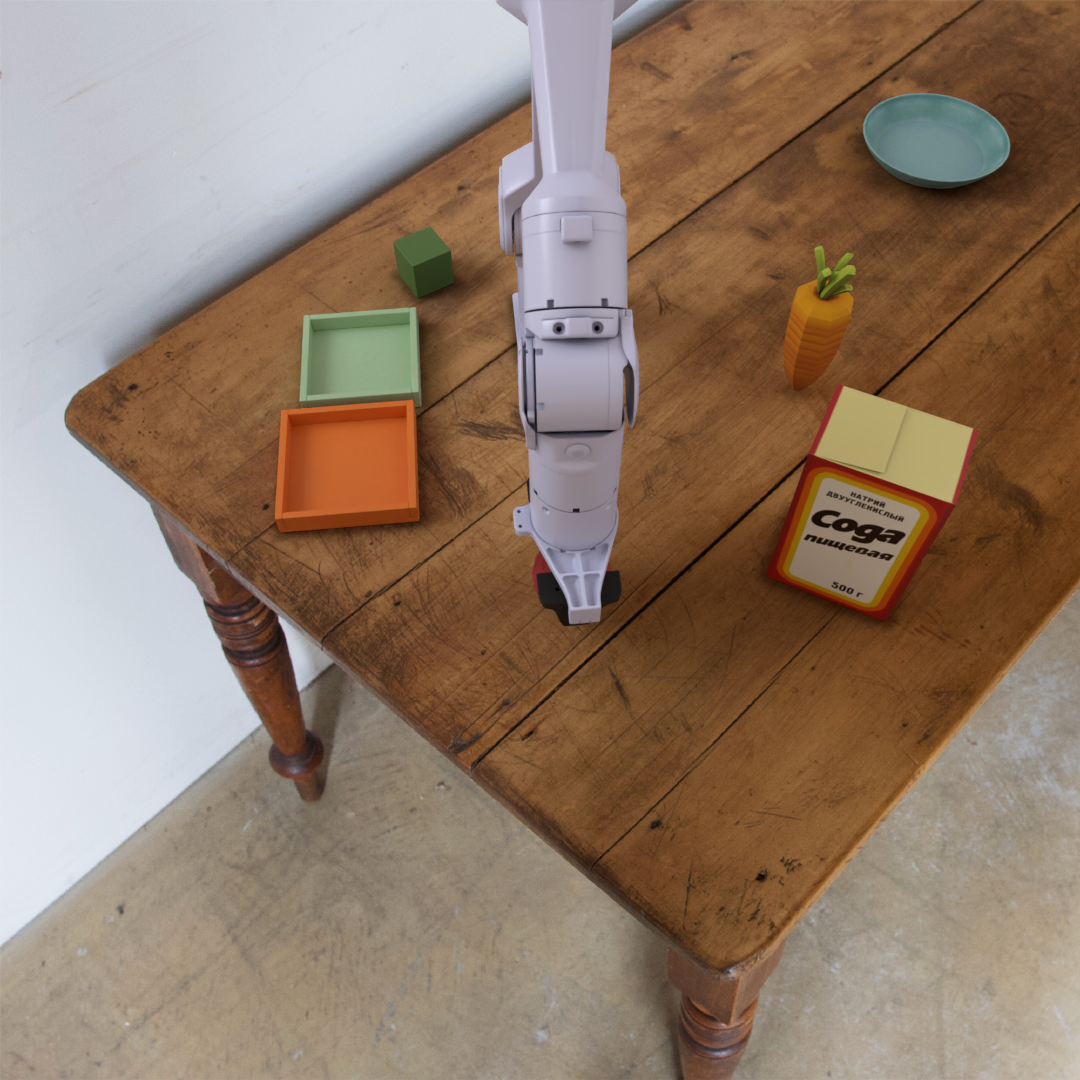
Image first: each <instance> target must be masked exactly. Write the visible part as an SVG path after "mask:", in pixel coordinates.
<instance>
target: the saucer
mask: <svg viewBox="0 0 1080 1080" xmlns="http://www.w3.org/2000/svg"><path fill="white" fill-rule="evenodd" d="M862 134H863V138H864V141H865V144H866V146H867V148H868V150H869V152H870V154H871V155H872V157H873V159H875V161H876V162H877V163H878V164H879V166H880V167H882V168H883V169H884V170H885V171H886V172H887V173H889V174H890V175H891V176H893V177H895V178H896V179H898V180H900V181H902V182H904V183H907V184H909V185H913V186H916V187H921V188H926V189H935V190H944V189H946V190H947V189H953V188H958V187H959V188H960V187H963V186H966V185H970V184H973V183H975V182H978V181H980V180H982V179H985V178H986V177H988V176H989V175H991V174H992V173H994V172H995V171H997V170H998V169H1000V168H1001V167H1002V166H1003V165H1004V164H1005V162H1006V161H1007V160H1008V158H1009V155H1010V153H1011V140H1010V137H1009V135H1008V132H1007V130H1006V128H1005V127H1004V126H1003V125H1002V123H1001V122H1000V121H999V120H998V119H997V118H996V117H995V116H993V115H992V114H991V113H990V112H988V111H987V110H985V109H984V108H981V107H979V105H976V104H974V103H971V102H970V101H967V100H964V99H962V98H959V97H954V96H951V95H945V94H941V93H939V94H938V93H933V92H932V93H929V92H915V93H914V92H913V93H912V92H911V93H903V94H900V95H895V96H892V97H889V98H886V99H884V100H882V101H881V102H878V103H877V104H876V105H875V106H873V107H872V108H871V109H870V111H869V112H868V113H867V114H866V115H865V118H864V119H863V124H862Z"/></svg>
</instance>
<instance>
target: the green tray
mask: <svg viewBox="0 0 1080 1080" xmlns="http://www.w3.org/2000/svg"><path fill="white" fill-rule="evenodd" d="M417 310H418V309H417V307H416V306H412V307H398V308H386V309H373V310H358V311H343V312H332V313H331V312H329V313H319V314H305V315H303V322H302V323H303V325H302V342H301V362H300V363H301V364H300V383H299V404H300V406H301V408H314V407H326V406H339V405H352V404H365V403H378V402H390V401H403V400H406V401H407V400H413V401H414V406H415V408H421V407H422V383H421V382H422V380H421V356H420V355H421V352H420V350H421V349H420V329H419V328H420V327H419V326H420V325H419V324H420V323H419V316H418V311H417Z"/></svg>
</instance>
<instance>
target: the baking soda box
mask: <svg viewBox="0 0 1080 1080" xmlns="http://www.w3.org/2000/svg"><path fill="white" fill-rule="evenodd" d="M979 432H980V429H976V428H973V427H971V426H967V425H964V424H961V423H959V422H955V421H952V420H949V419H946V418H943V417H939V416H937V415H934V414H930V413H927V412H926V411H925V412H924V411H921V410H919V409H915V408H913V407H909V406H907V405H904V404H901V403H898V402H895V401H892V400H889V399H885V398H883V397H879V396H876V395H873V394H870V393H867V392H864V391H861V390H858V389H855V388H851V387H849V386H846V385H842V384H840V383H837V384H836V387H835V389H834V392H833V395H832V397H831V399H830V402H829V403H828V406H827V408H826V411H825V413H824V415H823V418H822V420H821V423H820V425H819V428H818V430H817V431H816V435H815V436H814V440H813V442H812V445H811V447H810V449H809V452H808V454H807V457H806V460H805V462H804V466H803V468H802V472H801V474H800V477H799V479H798V482H797V485H796V488H795V490H794V493H793V496H792V499H791V502H790V505H789V507H788V511H787V513H786V517H785V518H784V521H783V525H782V527H781V530H780V532H779V536H778V538H777V542H776V544H775V547H774V550H773V552H772V555H771V558H770V561H769V564H768V567H767V570H766V572H765V576H764V577H767V578H770V579H772V580H775V581H777V582H779V583H782V584H785V585H788V586H790V587H793V588H796V589H798V590H800V591H803V592H806V593H808V594H811V595H813V596H816V597H819V598H821V599H825V600H827V601H829V602H832V603H834V604H836V605H840V606H842V607H845V608H848V609H850V610H853V611H856V612H858V613H861V614H863V615H865V616H868V617H871V618H873V619H876V620H879V621H882V622H884V623H886V622H887V620H888V618H889V617H890V615H891V613H892V612H893V610H894V609H895V607H896V605H897V603H898V602H899V601H900V599H901V597H902V596H903V594H904V592H905V590H906V589H907V587H908V585H909V584H910V582H911V580H912V579H913V578H914V576H915V573H916V572H917V570H918V569H919V567H920V565H921V564H922V562H923V560H924V559H925V557H926V556H927V554H928V553H929V551H930V549H931V547H932V546H933V544H934V542H935V540H936V539H937V538H938V536H939V534H940V533H941V531H942V529H943V527H944V526H945V524H946V523H947V521H948V520H949V518H950V516H951V514H952V513H953V511H954V509H955V507H956V506H957V504H958V500H959V497H960V494H961V491H962V487H963V484H964V481H965V478H966V475H967V471H968V468H969V464H970V461H971V457H972V455H973V452H974V448H975V445H976V442H977V438H978V435H979Z"/></svg>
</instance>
